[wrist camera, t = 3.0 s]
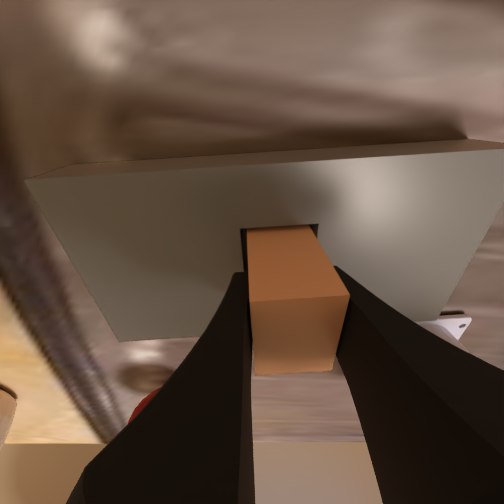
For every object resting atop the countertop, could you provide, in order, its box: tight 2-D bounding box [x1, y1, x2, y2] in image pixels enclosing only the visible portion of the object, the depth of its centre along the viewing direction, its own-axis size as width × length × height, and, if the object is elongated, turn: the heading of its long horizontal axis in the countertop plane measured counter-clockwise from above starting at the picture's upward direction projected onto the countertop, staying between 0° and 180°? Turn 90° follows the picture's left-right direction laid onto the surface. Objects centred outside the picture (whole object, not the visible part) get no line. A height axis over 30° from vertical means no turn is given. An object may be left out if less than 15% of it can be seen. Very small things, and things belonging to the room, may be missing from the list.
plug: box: [247, 224, 350, 375], centre depth 10 cm, size 4×3×6 cm
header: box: [23, 139, 504, 342], centre depth 13 cm, size 10×20×3 cm, turn 93°
